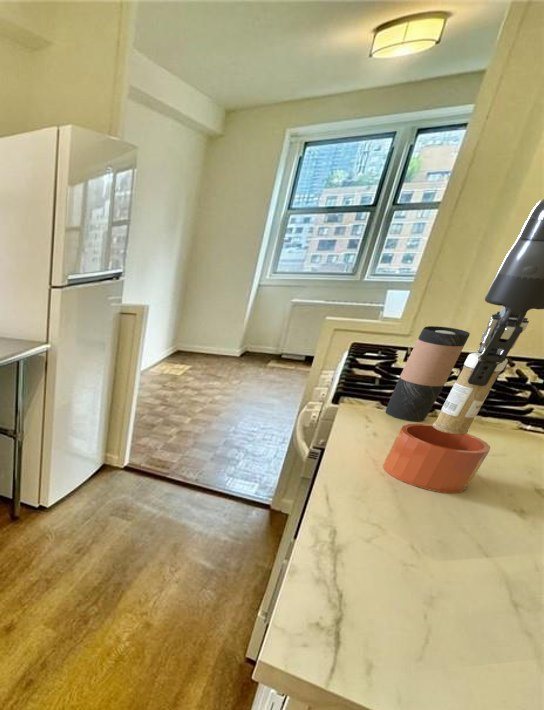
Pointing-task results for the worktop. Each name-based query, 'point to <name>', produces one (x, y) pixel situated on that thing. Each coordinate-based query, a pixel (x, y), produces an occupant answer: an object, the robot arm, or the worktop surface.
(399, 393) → the travel mug
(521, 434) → the worktop surface
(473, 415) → the sprinkles bottle
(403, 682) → the worktop surface
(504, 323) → the robot arm
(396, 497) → the worktop surface
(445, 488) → the crock
